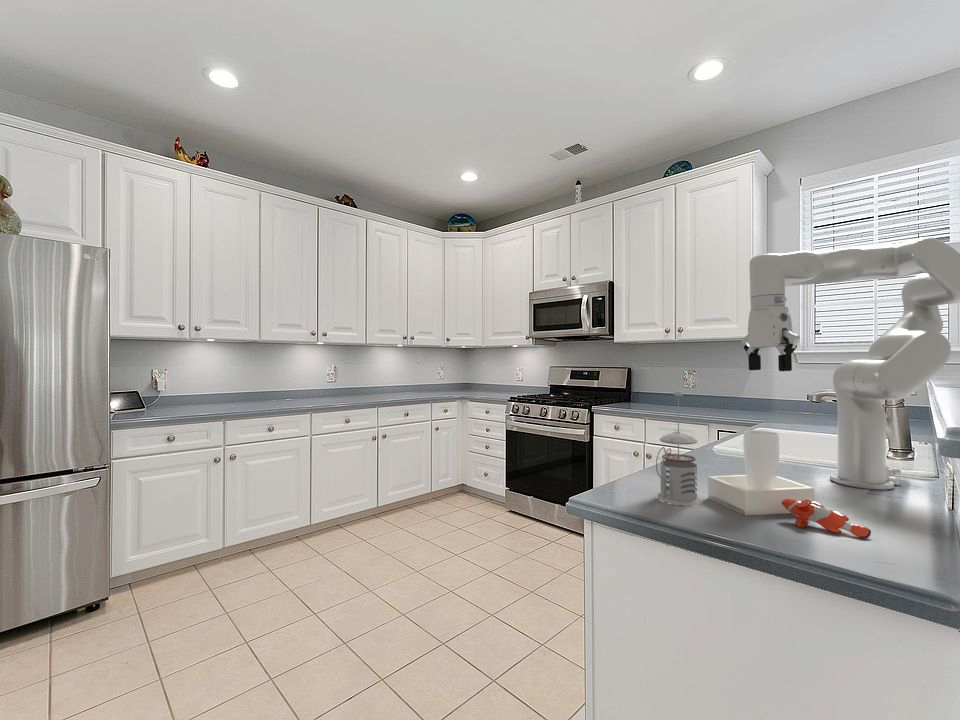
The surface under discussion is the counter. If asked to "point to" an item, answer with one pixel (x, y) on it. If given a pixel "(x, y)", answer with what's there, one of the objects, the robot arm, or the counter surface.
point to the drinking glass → (761, 459)
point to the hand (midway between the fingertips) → (769, 370)
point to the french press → (678, 470)
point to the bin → (755, 495)
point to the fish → (822, 517)
